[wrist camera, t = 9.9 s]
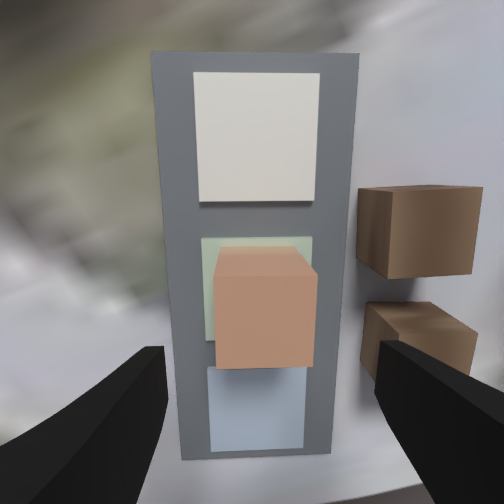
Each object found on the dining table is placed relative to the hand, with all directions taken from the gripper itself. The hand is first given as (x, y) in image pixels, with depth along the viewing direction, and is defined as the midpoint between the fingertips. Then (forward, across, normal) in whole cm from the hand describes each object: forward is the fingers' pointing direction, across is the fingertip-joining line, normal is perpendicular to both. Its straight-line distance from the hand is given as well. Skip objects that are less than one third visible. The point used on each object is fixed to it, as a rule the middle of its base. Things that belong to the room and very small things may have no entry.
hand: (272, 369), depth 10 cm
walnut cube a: (+8, -8, -4) cm, 12 cm away
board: (+8, 0, 0) cm, 8 cm away
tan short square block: (+7, 0, 0) cm, 7 cm away
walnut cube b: (+8, -9, +3) cm, 12 cm away
